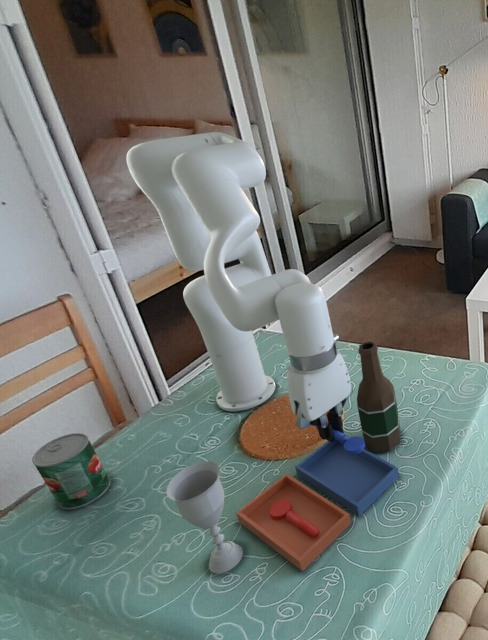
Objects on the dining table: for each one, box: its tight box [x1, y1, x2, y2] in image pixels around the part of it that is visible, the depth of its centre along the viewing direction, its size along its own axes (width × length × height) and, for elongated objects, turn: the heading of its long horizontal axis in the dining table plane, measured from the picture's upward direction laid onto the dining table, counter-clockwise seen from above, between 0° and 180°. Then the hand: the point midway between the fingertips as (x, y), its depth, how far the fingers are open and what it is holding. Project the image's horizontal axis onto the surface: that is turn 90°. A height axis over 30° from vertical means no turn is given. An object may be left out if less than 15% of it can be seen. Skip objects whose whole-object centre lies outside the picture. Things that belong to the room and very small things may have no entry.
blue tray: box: [294, 439, 400, 517], centre depth 96 cm, size 17×10×2 cm, turn 58°
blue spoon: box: [315, 426, 366, 455], centre depth 92 cm, size 12×4×2 cm, turn 58°
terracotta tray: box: [235, 473, 352, 572], centre depth 87 cm, size 17×10×2 cm, turn 58°
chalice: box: [166, 460, 244, 575], centre depth 78 cm, size 7×7×18 cm
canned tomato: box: [31, 432, 111, 510], centre depth 92 cm, size 8×8×11 cm
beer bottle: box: [356, 341, 401, 454], centre depth 100 cm, size 8×8×24 cm
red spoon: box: [269, 499, 319, 538], centre depth 87 cm, size 12×4×2 cm, turn 58°
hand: (332, 434), depth 93 cm, fingers closed on blue spoon, 1 cm apart
